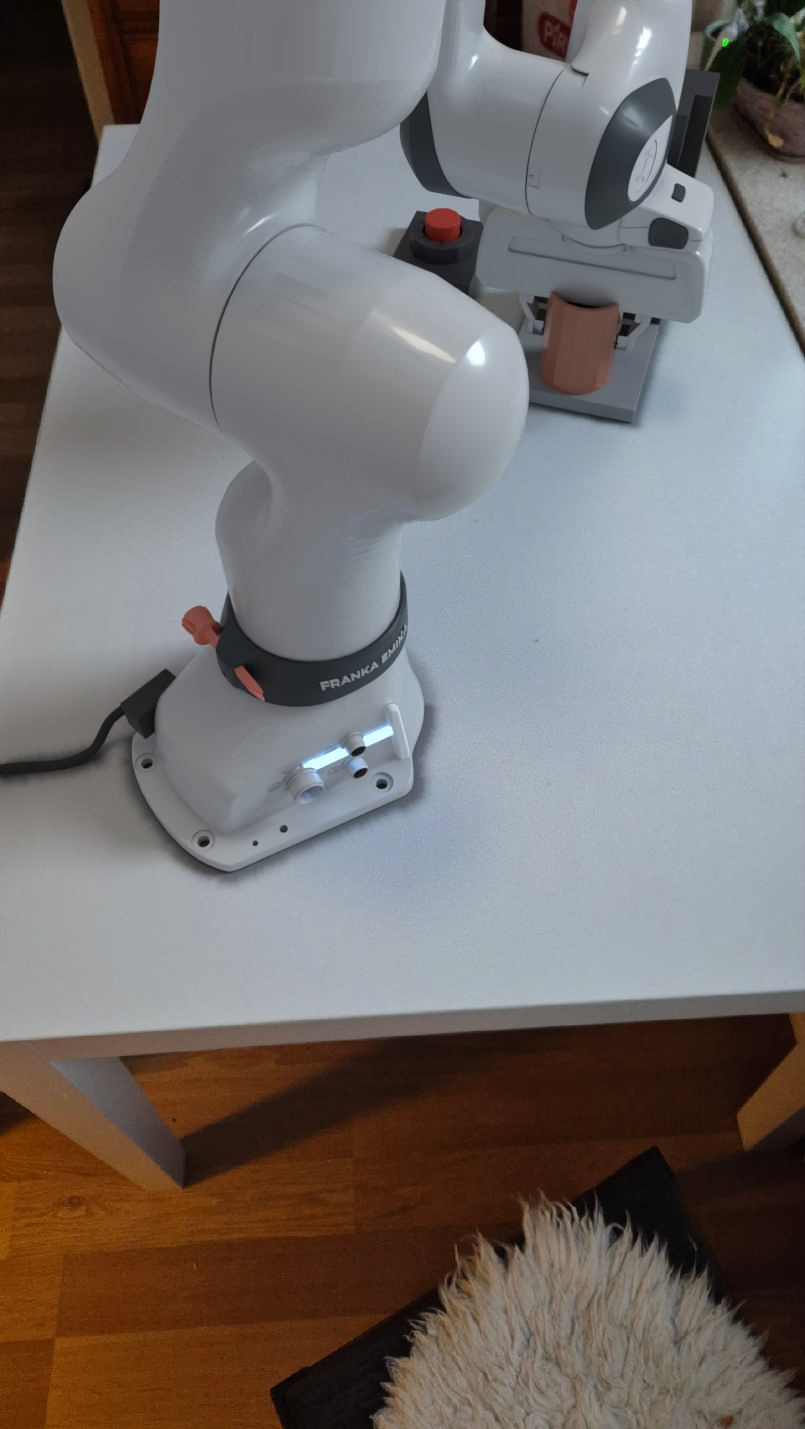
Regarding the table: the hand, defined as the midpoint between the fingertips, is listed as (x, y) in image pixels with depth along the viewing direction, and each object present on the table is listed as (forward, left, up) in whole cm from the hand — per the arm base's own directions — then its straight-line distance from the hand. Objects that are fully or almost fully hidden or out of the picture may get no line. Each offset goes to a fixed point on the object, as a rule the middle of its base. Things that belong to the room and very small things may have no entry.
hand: (580, 339), depth 94 cm
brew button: (+2, +23, -1) cm, 23 cm away
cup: (0, 0, -3) cm, 3 cm away
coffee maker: (+4, +2, -5) cm, 7 cm away
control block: (+2, +22, -5) cm, 23 cm away
